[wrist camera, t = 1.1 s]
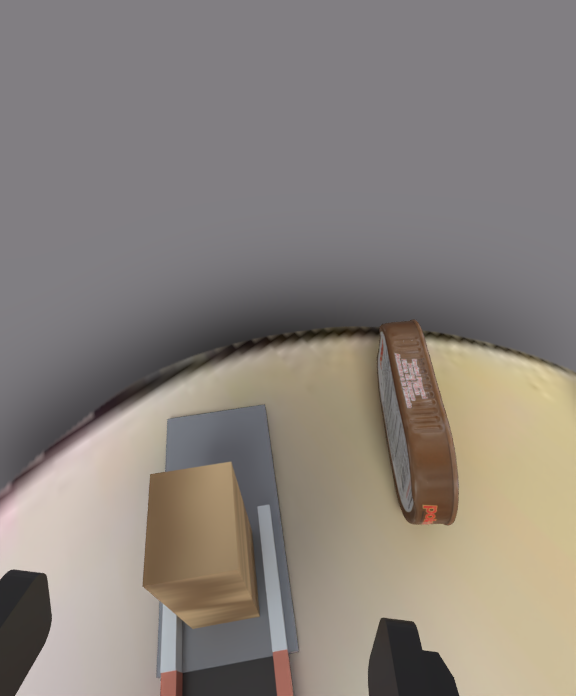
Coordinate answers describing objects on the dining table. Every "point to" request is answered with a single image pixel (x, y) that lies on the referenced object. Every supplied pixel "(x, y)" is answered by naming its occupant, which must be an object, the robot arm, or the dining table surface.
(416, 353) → the tin
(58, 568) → the dining table surface
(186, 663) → the long grey tray
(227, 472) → the oak block
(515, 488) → the dining table surface
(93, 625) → the dining table surface
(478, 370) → the dining table surface
